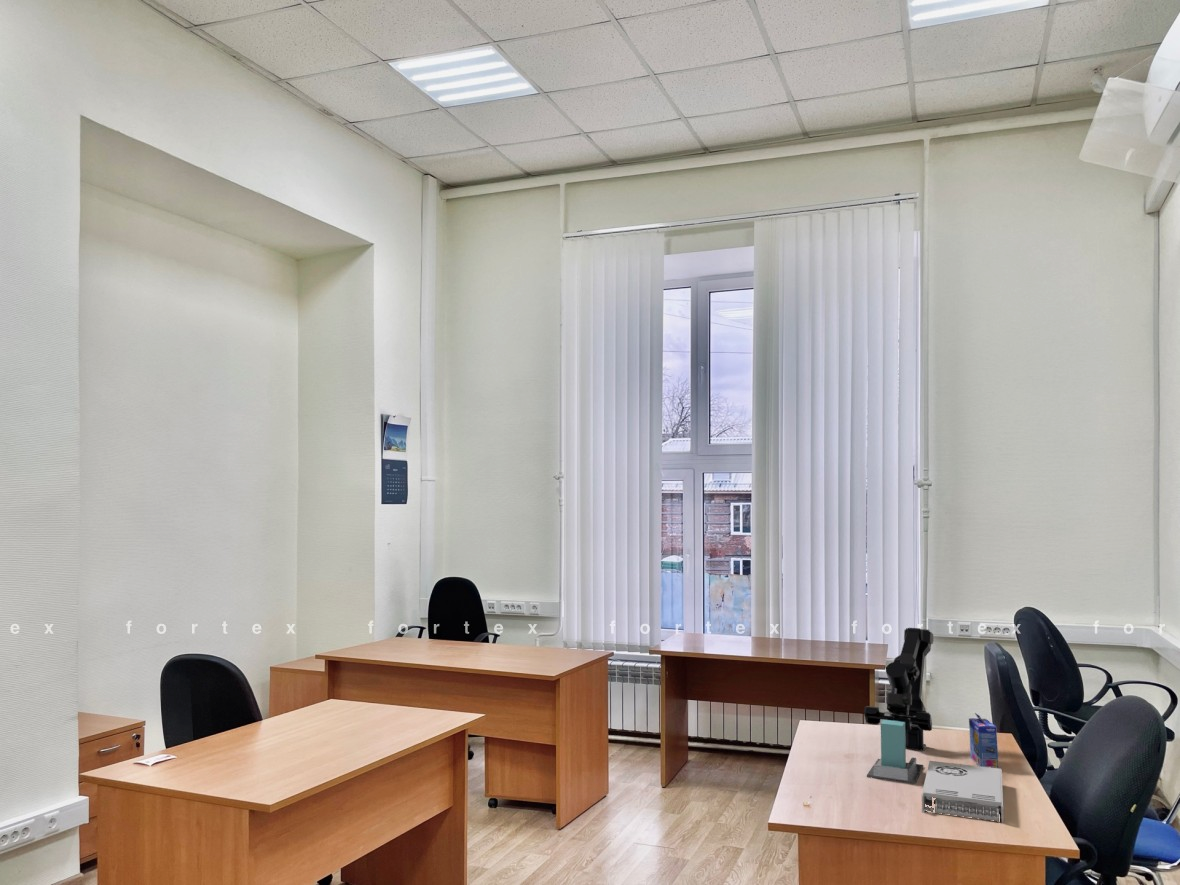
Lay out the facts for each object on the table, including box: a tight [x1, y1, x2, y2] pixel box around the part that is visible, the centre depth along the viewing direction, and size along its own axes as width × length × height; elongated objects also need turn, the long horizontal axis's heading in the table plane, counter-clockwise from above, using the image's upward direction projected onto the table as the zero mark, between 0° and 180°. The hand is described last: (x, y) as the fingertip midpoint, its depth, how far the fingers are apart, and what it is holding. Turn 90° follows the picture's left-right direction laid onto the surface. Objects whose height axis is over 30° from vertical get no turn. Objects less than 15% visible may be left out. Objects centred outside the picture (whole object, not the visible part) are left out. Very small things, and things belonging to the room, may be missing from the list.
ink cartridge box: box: [968, 712, 999, 769], centre depth 270 cm, size 10×6×14 cm, turn 174°
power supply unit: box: [921, 760, 1005, 824], centre depth 238 cm, size 19×33×5 cm, turn 156°
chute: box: [866, 757, 924, 785], centre depth 260 cm, size 18×13×4 cm
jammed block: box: [880, 720, 907, 768], centre depth 258 cm, size 5×6×14 cm
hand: (894, 743), depth 260 cm, fingers closed, pressing on jammed block
